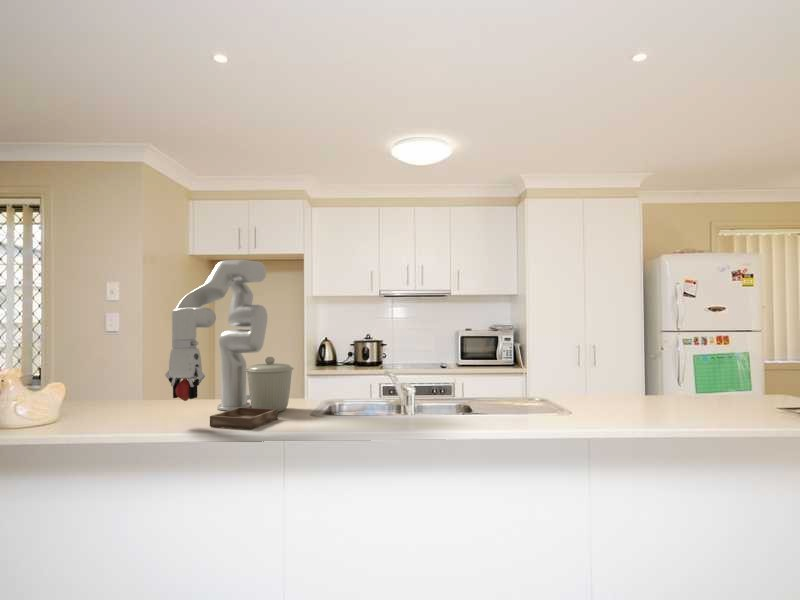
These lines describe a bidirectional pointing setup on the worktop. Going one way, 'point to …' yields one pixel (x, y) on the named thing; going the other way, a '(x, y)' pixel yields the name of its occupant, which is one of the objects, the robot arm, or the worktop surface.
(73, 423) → the worktop surface
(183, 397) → the onion
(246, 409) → the walnut tray
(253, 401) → the canister
